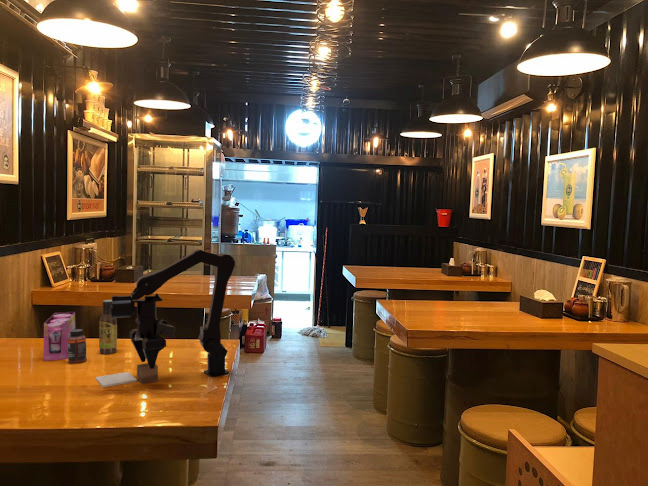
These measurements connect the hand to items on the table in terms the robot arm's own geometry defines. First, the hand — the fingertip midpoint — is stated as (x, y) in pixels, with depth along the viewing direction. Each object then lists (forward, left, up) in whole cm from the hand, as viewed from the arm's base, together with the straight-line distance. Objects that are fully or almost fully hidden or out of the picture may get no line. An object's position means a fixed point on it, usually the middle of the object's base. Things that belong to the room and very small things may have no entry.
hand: (147, 365), depth 164 cm
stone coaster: (+6, +8, -5) cm, 11 cm away
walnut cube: (0, 0, -5) cm, 5 cm away
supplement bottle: (+36, +14, -5) cm, 39 cm away
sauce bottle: (+43, +2, -5) cm, 43 cm away
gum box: (+53, +17, -5) cm, 56 cm away
